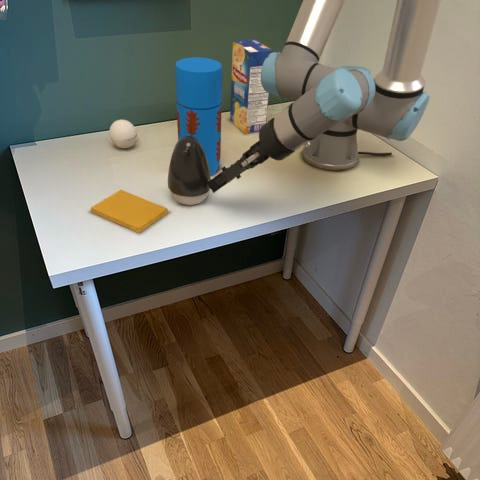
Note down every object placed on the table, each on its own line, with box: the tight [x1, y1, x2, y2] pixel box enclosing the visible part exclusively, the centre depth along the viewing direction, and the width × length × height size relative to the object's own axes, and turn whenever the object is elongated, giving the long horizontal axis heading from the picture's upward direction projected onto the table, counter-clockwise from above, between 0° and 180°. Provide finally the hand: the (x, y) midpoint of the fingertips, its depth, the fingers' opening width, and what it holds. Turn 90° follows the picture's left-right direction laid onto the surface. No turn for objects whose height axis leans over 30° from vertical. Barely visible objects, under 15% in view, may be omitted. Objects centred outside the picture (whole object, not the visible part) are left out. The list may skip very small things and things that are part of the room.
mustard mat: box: [90, 189, 169, 234], centre depth 107 cm, size 14×10×1 cm
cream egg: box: [108, 119, 138, 149], centre depth 128 cm, size 10×7×7 cm
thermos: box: [174, 56, 223, 177], centre depth 115 cm, size 11×11×25 cm
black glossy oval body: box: [167, 136, 212, 206], centre depth 107 cm, size 10×10×15 cm
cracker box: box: [229, 38, 274, 135], centre depth 137 cm, size 7×11×22 cm, turn 26°
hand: (211, 186), depth 107 cm, fingers closed
